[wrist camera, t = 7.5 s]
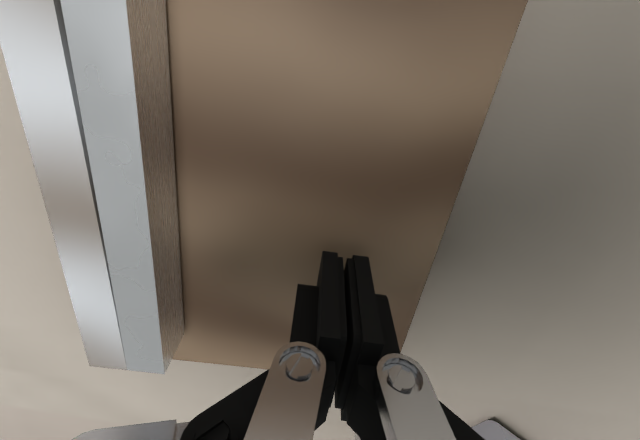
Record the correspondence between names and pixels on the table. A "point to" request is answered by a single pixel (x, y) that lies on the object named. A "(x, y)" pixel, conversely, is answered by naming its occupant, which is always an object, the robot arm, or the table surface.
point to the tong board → (274, 153)
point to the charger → (493, 431)
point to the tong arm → (132, 166)
